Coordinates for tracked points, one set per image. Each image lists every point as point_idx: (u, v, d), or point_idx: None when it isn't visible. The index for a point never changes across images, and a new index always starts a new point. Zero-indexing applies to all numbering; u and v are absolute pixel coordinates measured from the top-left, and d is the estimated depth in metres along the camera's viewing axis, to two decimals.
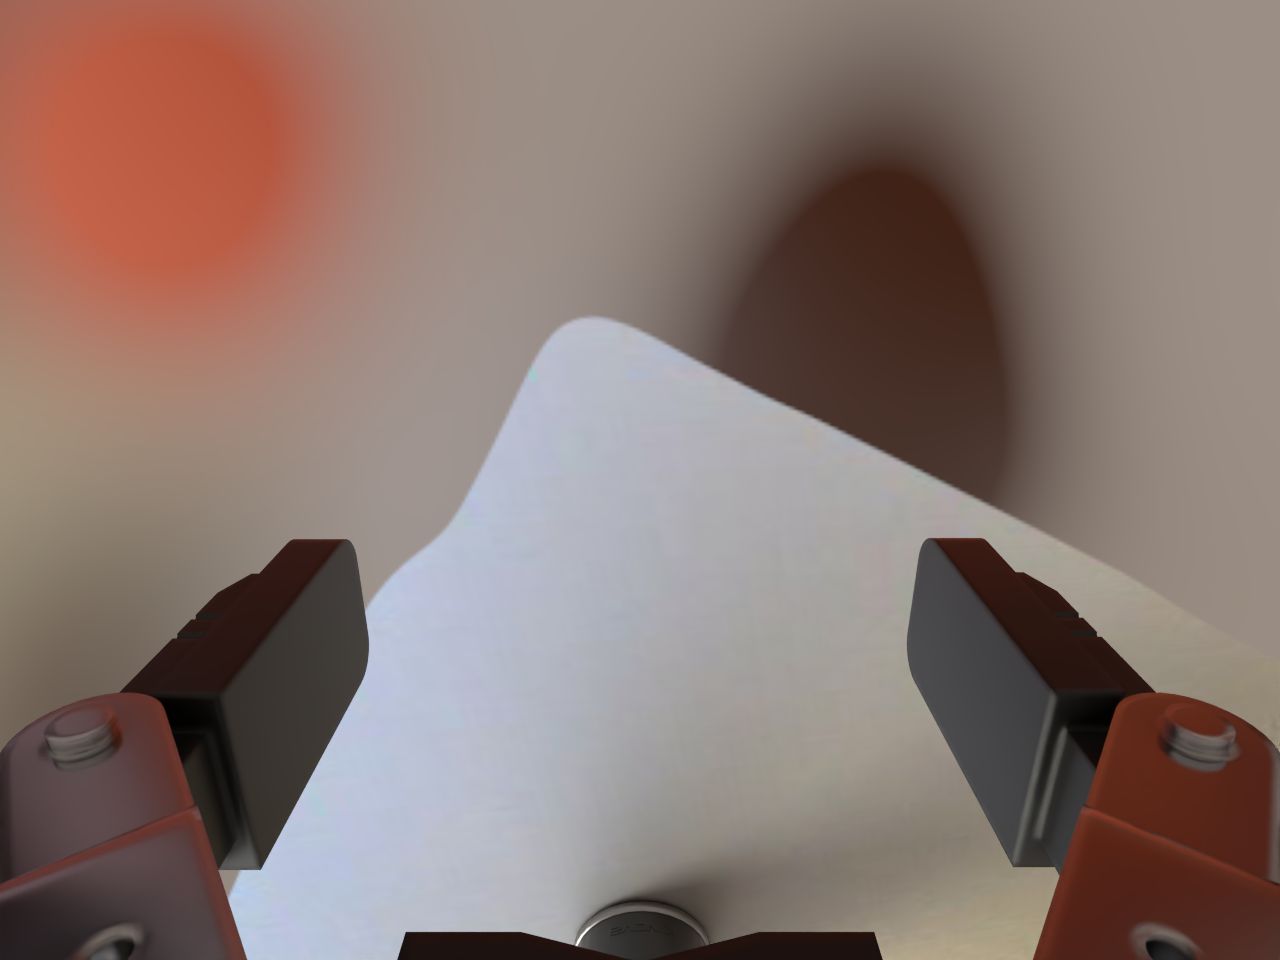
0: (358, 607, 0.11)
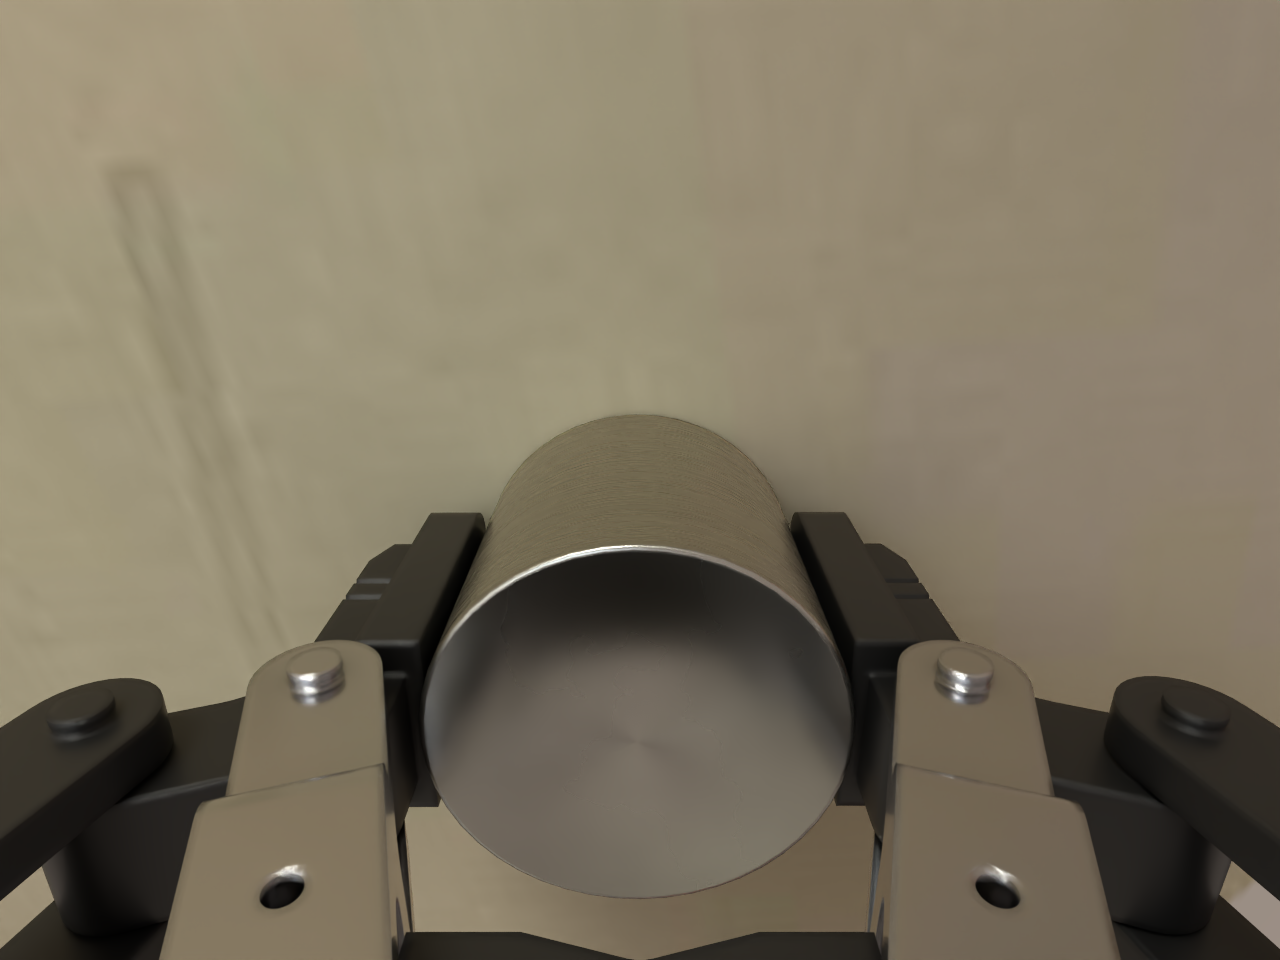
0: None
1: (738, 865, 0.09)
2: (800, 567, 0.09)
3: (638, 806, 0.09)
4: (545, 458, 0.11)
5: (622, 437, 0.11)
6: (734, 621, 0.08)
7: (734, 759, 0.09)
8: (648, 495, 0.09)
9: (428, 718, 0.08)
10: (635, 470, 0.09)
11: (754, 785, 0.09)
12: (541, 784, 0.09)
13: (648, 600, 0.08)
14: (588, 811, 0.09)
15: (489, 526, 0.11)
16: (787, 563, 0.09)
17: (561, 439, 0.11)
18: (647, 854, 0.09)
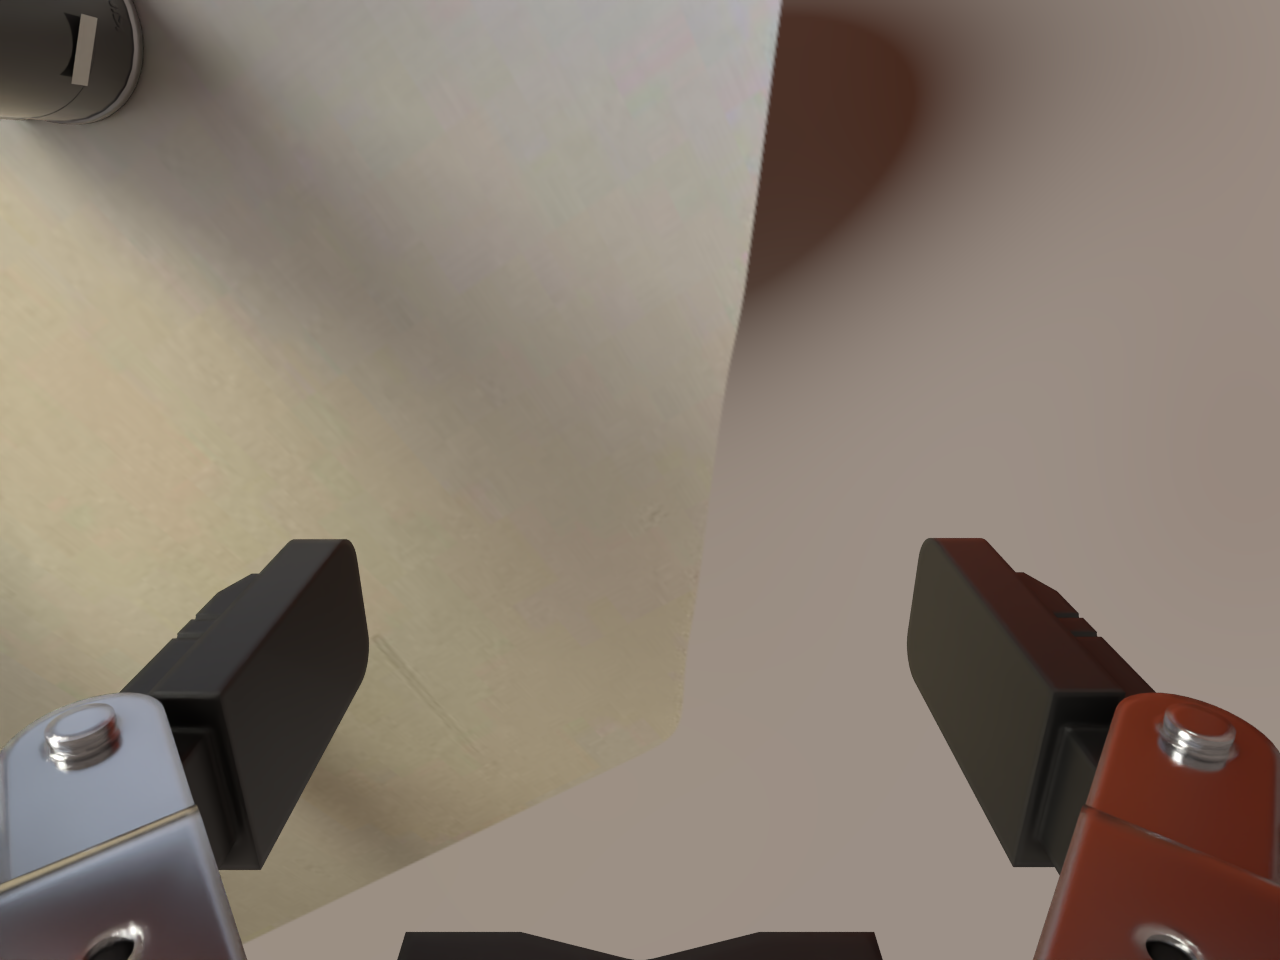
0: (358, 607, 0.11)
1: None
2: None
3: None
4: None
5: None
6: None
7: None
8: None
9: None
10: None
11: None
12: None
13: None
14: None
15: None
16: None
17: None
18: None
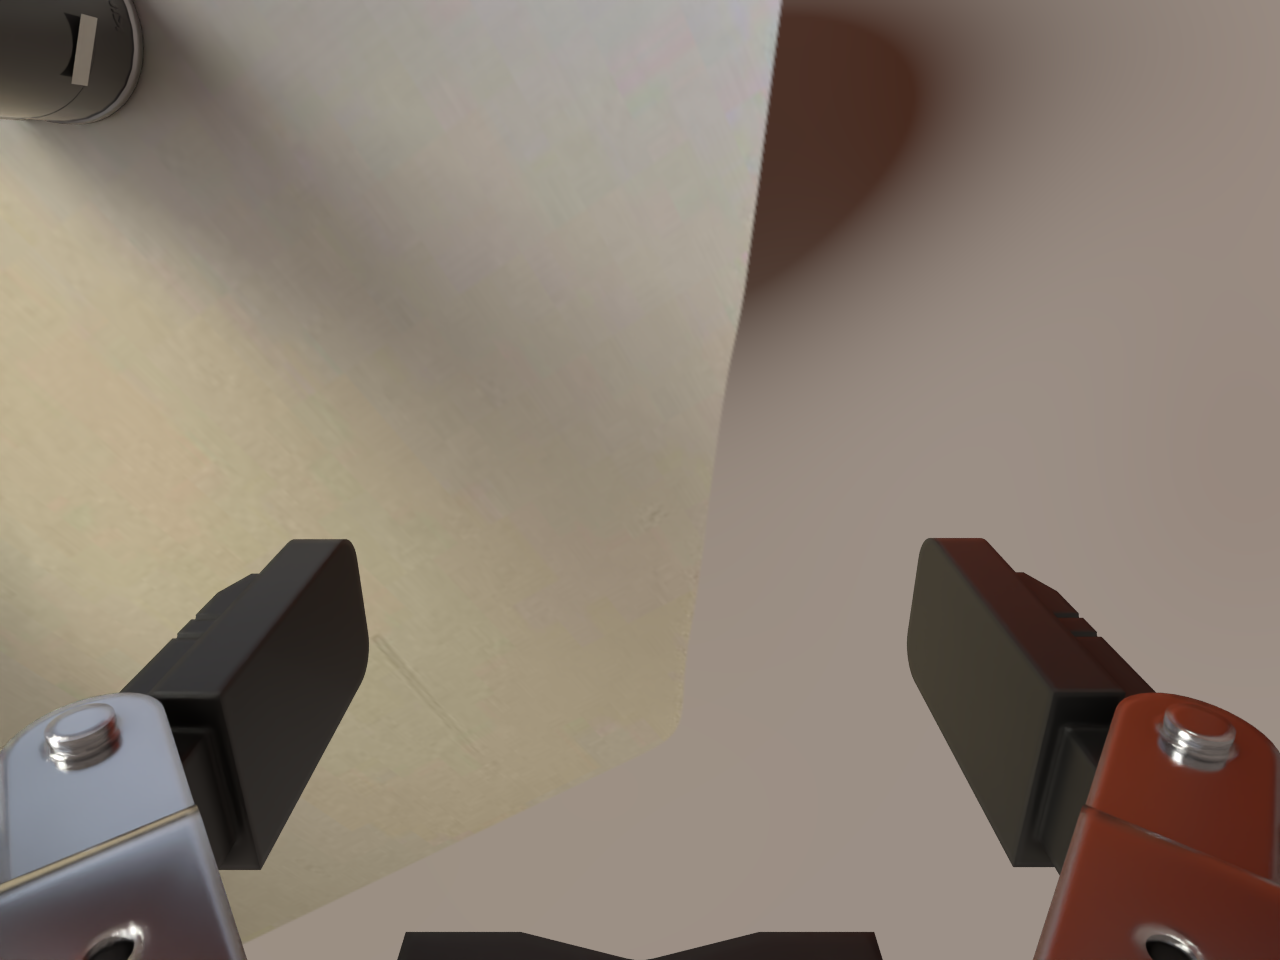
0: (358, 607, 0.11)
1: None
2: None
3: None
4: None
5: None
6: None
7: None
8: None
9: None
10: None
11: None
12: None
13: None
14: None
15: None
16: None
17: None
18: None
